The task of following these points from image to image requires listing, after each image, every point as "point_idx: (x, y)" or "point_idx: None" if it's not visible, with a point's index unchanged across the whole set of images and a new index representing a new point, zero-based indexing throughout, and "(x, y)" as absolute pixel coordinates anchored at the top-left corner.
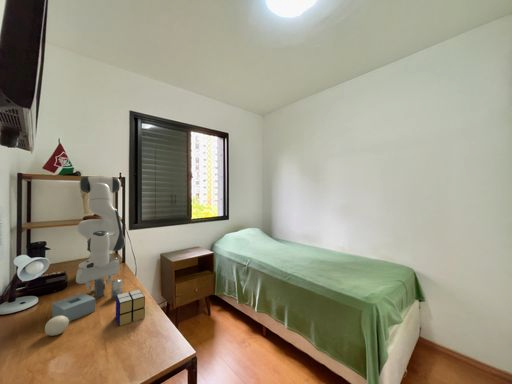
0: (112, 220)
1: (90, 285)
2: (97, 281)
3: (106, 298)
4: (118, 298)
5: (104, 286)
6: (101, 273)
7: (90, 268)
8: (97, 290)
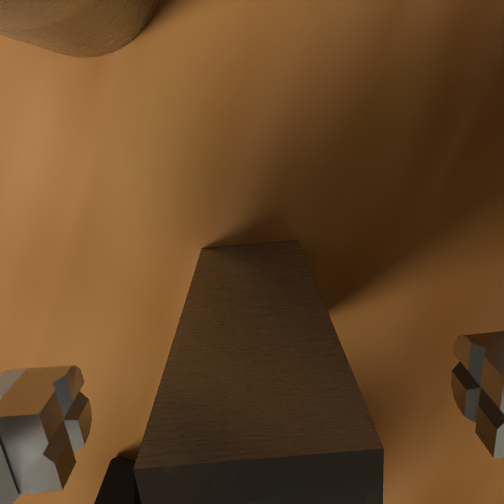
0: None
1: (495, 430)
2: (376, 440)
3: (217, 73)
4: None
5: (104, 491)
6: None
7: None
8: (313, 288)
